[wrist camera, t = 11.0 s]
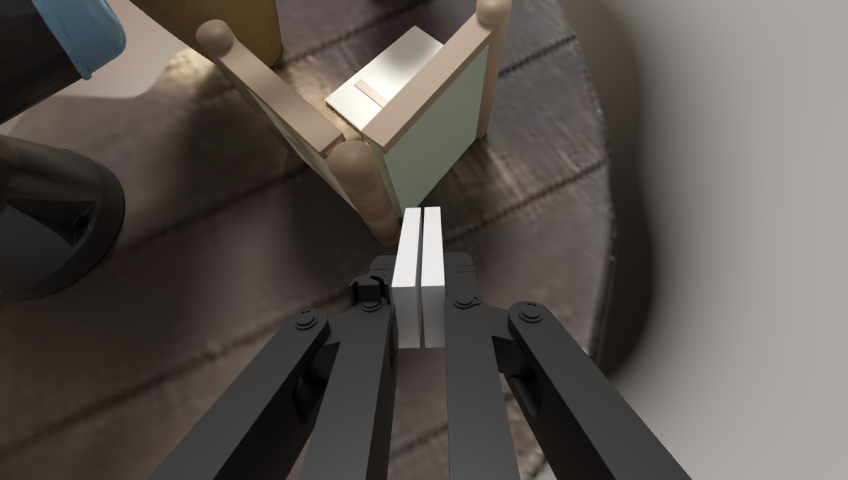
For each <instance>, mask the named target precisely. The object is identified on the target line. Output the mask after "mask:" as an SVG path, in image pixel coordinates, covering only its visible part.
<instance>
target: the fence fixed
mask: <svg viewBox="0 0 848 480" xmlns="http://www.w3.org/2000/svg"><path fill="white" fill-rule="evenodd" d="M196 39H197V41H198V42H199V43H200V45H201V46H202V47H203V48H204V50H205V51H206V52H207V53H208V54H209V56H210V57H211V58H212V59H213V60H214V62H215V63H216V64H217V65H218V67H219V68H220V69H221V70H222V71H223V73H224V74H225V75H226V76H227V77H228V79H229V80H230V81H231V82H232V84H233V85H234V86H235V87H236V88H237V90H238V91H239V92H240V93H241V95H242V96H243V97H244V98H245V99H246V101H247V102H248V103H249V104H250V105H251V107H252V108H253V109H254V110H255V112H256V113H257V114H258V115H259V116H260V118H261V119H262V120H263V121H264V122H265V124H266V125H267V126H268V127H269V129H270V130H271V131H272V132H273V133H274V135H275V136H276V137H277V138H278V139H279V141H280V142H281V143H282V144H283V146H284V147H285V148H286V149H287V150H288V152H289V153H290V154H291V155H292V156H294V157H301V158H302V159H303V160H304V161H305V162H306V163H307V164H308V165H309V166H310V167H311V168H312V169H313V170H314V171H315V172H316V173H317V174H319V175H320V176H321V177H322V178H323V179H324V180H325V181H326V182H327V183H328V184H329V185H330V186H331V187H332V188H333V189H334V190H335V191H336V192H337V193H338V194H339V195H340V196H341V197H343V198H344V199H345V200H346V201H347V202H348V203H349V204H350V205H351V206H352V207H353V208H354V209H355V210H356V211H357V212H358V213H359V214H360V216H361V217H362V219H363V220H364V222H365V223H366V225H367V226H368V228H369V229H370V231H371V232H372V234H373V235H374V237H375V238H376V240H377V241H378V242H379V243H380V244H381V245H384V246H392V245H394V244H396V243H397V242H398V241H399V240H400V237H401V231H402V228H401V226H400V223H399V221H398V218H397V215H396V213H395V210H394V208H393V205H392V202H391V200H390V197H389V195H388V192H387V189H386V187H385V184H384V182H383V179H382V176H381V174H380V171H379V169H378V166H377V164H376V161H375V158H374V156H373V153H372V151H371V149H370V148H369V146H368V145H366V144H365V143H363V142H361V141H358V140H348V141H346V139H345V137H344V135H343V133H342V132H341V131H340V130H339V129H338V128H336V127H335V126H334V125H333V124H332V123H331V122H330V121H329V120H327V119H326V118H325V117H324V116H323V115H322V114H321V113H319V112H318V111H317V110H316V109H315V108H314V107H313V106H312V105H310V104H309V103H308V102H307V101H306V100H305V99H304V98H302V97H301V96H300V95H299V94H298V93H297V92H296V91H294V90H293V89H292V88H291V87H290V86H289V85H288V84H287V83H285V82H284V81H283V80H282V79H281V78H280V77H279V76H277V75H276V74H275V73H274V72H273V71H272V70H271V69H270V68H268V67H267V66H266V65H265V64H264V63H263V62H262V61H260V60H259V59H258V58H257V57H256V56H255V55H254V54H253V53H251V52H250V51H249V50H248V49H247V48H246V47H245V46H243V45H242V44H241V43H240V42H239V41H238V40H237V38H236V37H235V35H234V34H233V33H232V31H231V30H230V28H229V27H228V25H227V24H226V23H225V22H224V21H222V20H210V21H208V22H205V23H204V24H202V25H201V26H200V27H199V28H198V30H197V32H196Z"/></svg>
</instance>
